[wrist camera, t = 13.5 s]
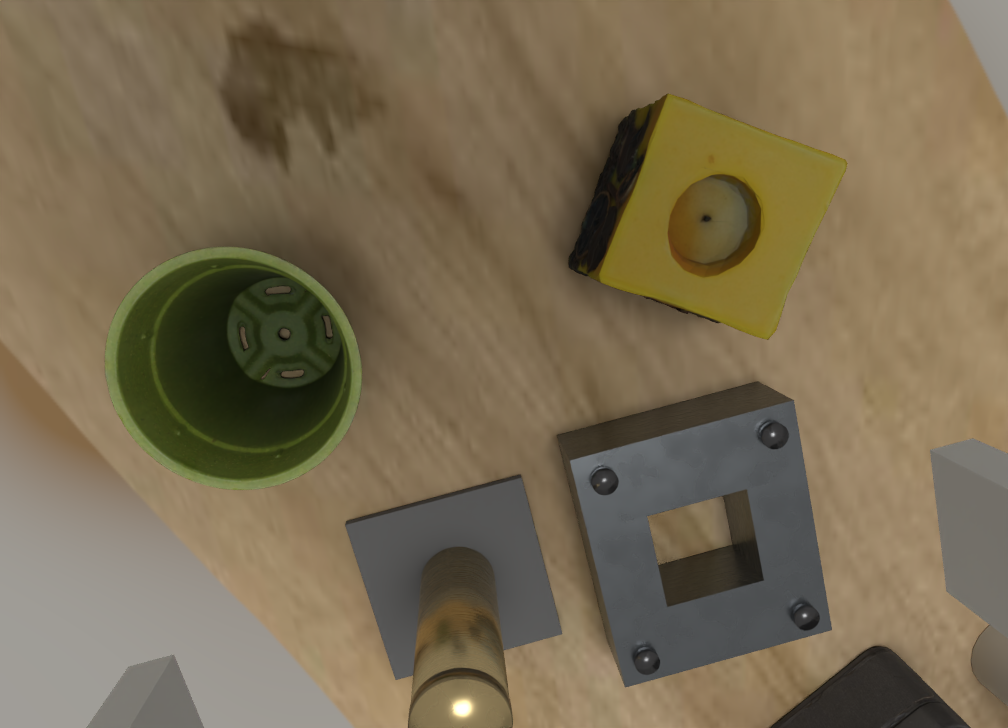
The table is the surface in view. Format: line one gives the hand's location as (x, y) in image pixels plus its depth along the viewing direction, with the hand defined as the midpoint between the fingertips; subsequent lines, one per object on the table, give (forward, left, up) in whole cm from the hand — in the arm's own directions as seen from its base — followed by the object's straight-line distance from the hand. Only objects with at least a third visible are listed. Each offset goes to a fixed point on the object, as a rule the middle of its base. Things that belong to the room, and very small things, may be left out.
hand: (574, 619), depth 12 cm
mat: (+17, -6, -34) cm, 38 cm away
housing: (+17, +10, -34) cm, 39 cm away
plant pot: (-2, -12, -35) cm, 36 cm away
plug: (+17, -6, -34) cm, 38 cm away
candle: (-3, +13, -35) cm, 37 cm away
